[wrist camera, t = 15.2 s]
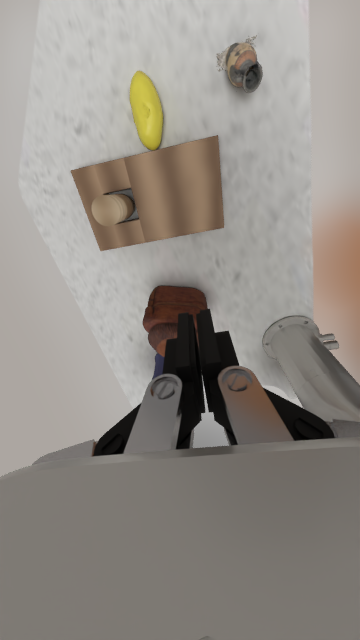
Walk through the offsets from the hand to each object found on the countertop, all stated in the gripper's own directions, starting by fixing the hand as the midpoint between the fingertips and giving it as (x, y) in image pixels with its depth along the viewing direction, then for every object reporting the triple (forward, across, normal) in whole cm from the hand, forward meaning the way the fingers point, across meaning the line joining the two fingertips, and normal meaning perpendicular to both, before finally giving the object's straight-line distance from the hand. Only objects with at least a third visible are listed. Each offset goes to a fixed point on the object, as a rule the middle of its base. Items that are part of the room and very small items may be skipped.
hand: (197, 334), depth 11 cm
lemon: (+32, +3, -16) cm, 36 cm away
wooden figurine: (+32, +4, +13) cm, 35 cm away
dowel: (+32, +10, -6) cm, 34 cm away
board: (+32, +5, -6) cm, 33 cm away
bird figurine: (+32, -10, -18) cm, 38 cm away
